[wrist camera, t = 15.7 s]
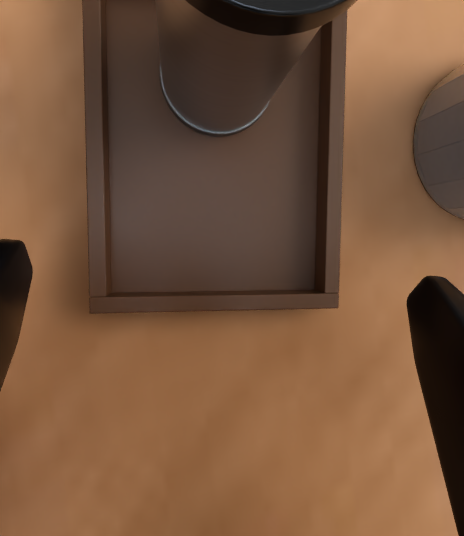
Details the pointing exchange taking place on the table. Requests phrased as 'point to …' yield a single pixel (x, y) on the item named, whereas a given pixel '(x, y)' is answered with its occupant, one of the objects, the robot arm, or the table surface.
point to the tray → (208, 181)
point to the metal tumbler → (232, 55)
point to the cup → (443, 143)
